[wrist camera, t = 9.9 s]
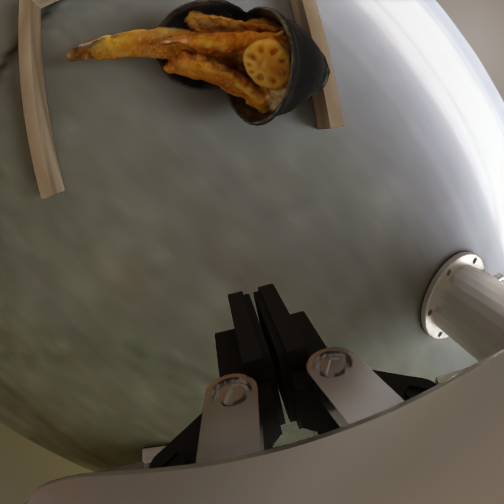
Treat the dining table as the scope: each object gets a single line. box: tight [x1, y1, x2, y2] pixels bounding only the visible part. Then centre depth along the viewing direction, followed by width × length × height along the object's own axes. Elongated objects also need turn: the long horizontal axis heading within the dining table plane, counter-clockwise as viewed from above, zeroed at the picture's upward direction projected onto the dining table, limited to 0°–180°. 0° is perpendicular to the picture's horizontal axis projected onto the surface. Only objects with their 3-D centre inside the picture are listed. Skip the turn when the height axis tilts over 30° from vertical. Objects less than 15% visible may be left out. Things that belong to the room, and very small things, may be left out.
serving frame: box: [18, 0, 344, 199], centre depth 19 cm, size 24×19×2 cm
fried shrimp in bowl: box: [67, 0, 330, 126], centre depth 17 cm, size 9×11×18 cm
